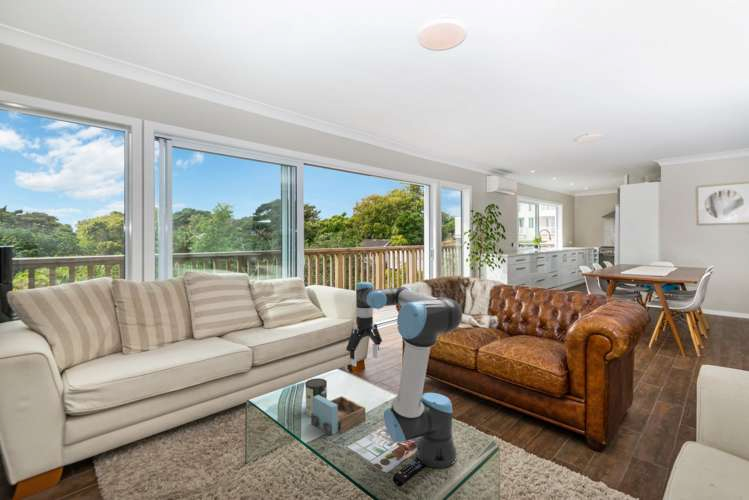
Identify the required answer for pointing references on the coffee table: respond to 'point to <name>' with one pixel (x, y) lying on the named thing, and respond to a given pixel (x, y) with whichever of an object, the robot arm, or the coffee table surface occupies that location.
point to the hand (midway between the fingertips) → (364, 361)
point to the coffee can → (314, 392)
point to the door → (326, 413)
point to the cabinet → (344, 415)
